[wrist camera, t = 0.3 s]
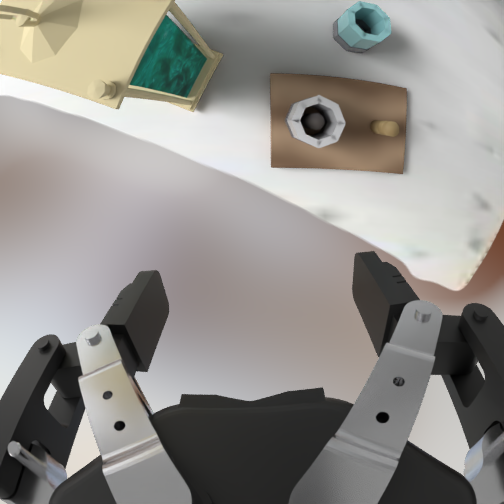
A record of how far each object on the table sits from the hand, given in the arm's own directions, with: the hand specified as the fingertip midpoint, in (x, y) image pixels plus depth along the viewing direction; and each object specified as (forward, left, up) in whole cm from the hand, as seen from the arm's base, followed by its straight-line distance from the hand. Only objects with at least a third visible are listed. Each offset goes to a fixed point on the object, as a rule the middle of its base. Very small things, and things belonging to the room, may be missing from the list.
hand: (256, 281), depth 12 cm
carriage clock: (-15, -13, -28) cm, 35 cm away
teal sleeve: (-19, +13, -28) cm, 36 cm away
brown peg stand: (-6, +11, -28) cm, 30 cm away
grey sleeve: (-6, +6, -26) cm, 28 cm away
